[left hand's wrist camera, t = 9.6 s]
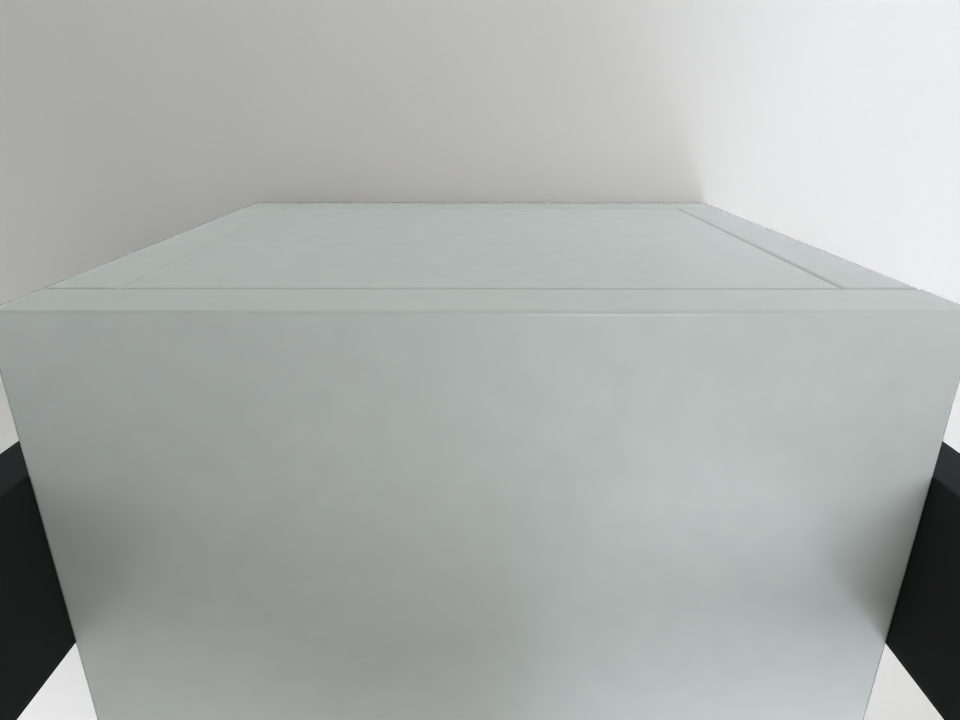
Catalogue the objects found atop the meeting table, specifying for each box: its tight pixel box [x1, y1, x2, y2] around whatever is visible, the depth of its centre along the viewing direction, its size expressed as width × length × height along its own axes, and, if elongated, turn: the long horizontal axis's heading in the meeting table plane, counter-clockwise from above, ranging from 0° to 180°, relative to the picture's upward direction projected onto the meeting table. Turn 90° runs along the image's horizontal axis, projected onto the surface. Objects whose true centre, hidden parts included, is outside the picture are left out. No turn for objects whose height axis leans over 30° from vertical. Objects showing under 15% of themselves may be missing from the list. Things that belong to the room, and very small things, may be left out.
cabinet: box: [0, 203, 960, 720], centre depth 16 cm, size 22×12×10 cm, turn 0°
